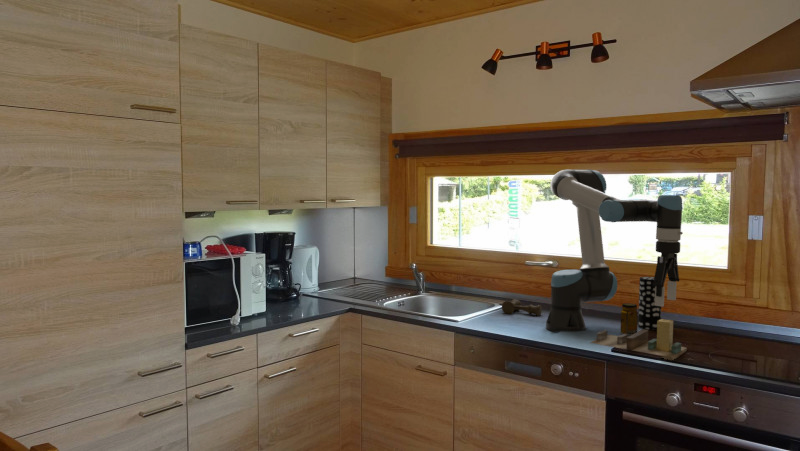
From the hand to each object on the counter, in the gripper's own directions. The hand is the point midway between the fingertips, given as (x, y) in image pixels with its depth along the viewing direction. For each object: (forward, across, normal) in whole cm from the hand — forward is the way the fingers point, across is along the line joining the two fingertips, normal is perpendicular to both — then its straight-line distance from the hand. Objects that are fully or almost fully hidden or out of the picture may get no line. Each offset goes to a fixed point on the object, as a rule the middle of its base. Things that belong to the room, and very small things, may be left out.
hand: (665, 302), depth 197 cm
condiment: (+18, +17, +16) cm, 29 cm away
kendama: (+19, +24, +68) cm, 75 cm away
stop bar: (+16, 0, 0) cm, 16 cm away
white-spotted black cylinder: (+18, +35, +16) cm, 42 cm away
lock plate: (+17, 0, +8) cm, 19 cm away
